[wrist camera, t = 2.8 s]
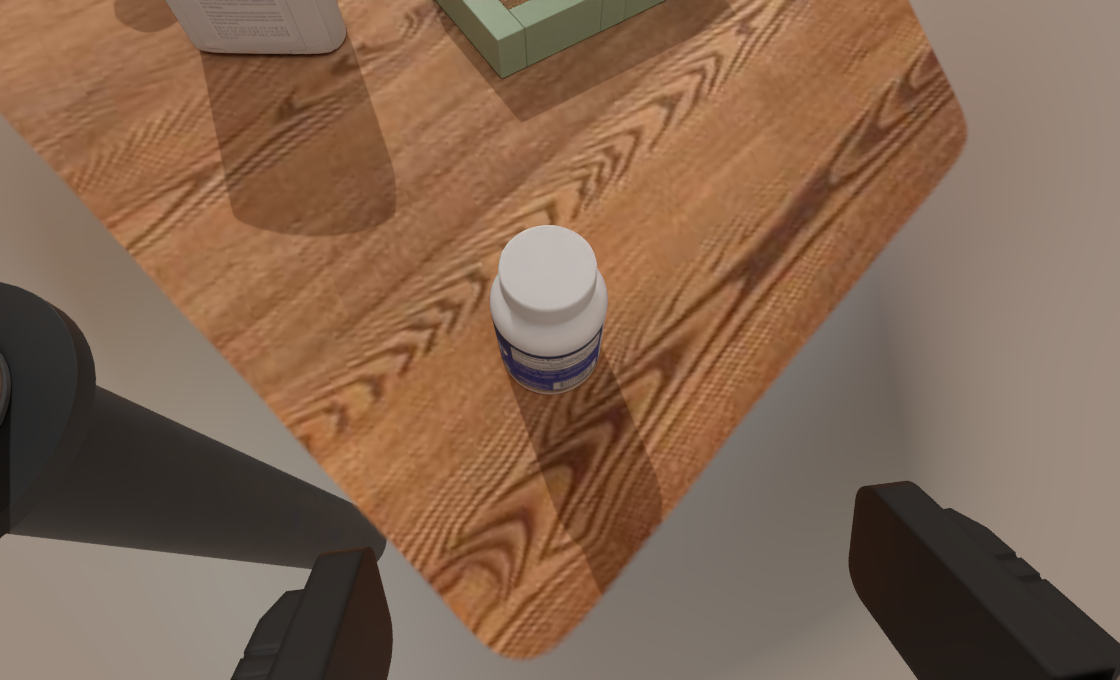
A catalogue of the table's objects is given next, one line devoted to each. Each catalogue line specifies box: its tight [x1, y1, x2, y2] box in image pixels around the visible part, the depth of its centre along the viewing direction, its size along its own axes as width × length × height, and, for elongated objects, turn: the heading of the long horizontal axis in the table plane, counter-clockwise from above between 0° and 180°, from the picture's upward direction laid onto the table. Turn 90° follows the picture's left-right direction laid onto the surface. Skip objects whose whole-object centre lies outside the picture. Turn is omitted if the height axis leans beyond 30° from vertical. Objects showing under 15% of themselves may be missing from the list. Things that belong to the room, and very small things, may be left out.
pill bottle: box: [490, 225, 608, 394], centre depth 28 cm, size 5×5×9 cm
